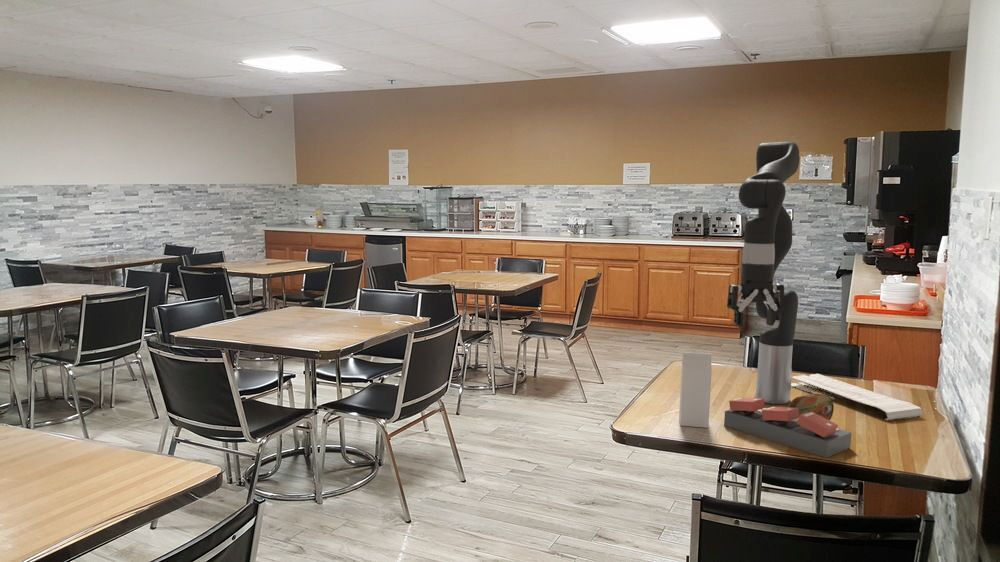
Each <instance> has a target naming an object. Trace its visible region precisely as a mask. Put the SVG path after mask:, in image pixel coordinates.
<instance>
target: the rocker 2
mask: <svg viewBox="0 0 1000 562" xmlns="http://www.w3.org/2000/svg"><path fill="white" fill-rule="evenodd" d="M766 408H767V409H763V410H762V417H763V420H777V421H791V420H794V419H797V418H799V410H798V408H791V407H789V406H788V407H787V406H786V407H785V406H771V407H766Z"/></svg>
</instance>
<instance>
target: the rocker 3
mask: <svg viewBox="0 0 1000 562" xmlns="http://www.w3.org/2000/svg"><path fill="white" fill-rule="evenodd" d="M797 424H799V425H801V426H803V427H804V428H806V429H808V430H810V431H812V432H814V433H816V434H818V435H820V436H822V437H827V436H830V435H832V434H835V432H836V429H837V428H838V425H839V424H838V423H836V422H833V421H832V420H831V419H830V420H828V419H826V418H824V417H822V416H820V415H818V414H815V413H813V412H811V411H810V412H807V413H804V414H801V415H800V416H799V420H798V423H797Z"/></svg>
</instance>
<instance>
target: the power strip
mask: <svg viewBox="0 0 1000 562" xmlns="http://www.w3.org/2000/svg"><path fill="white" fill-rule="evenodd" d="M767 408H768V407H765V408H763V409H767ZM763 409H760V410H756V411H740V410H730V409H727V410H724V421H723V426H725V427H728V428H730V429H733V430H735V431H736V430H737V431H739V432H743V433H746V434H750V435H752V436H756V437H759V438H762V439H765V440H768V441H771V442H775V443H778V444H781V445H784V446H787V447H790V448H794V449H797V450H799V451H803V452H807V453H808V454H809V453H810V454H812V455H816V456H818V455H819V457H821V456H822V457H821V458H825V459H827V458H830V456H831V457H833V456H835V454H836V455H838V454H840V453H842V452H841V451H843V452H845V451H847V450H846V449H848V448H850V449H851V441H852V432H851V431H849V430H848V431H847V430H844V429H840V428H838V427H837V429H836V432H835V434H832V435H830V436H827V437H822V436H820V435H818V434H816V433H814V432H812V431H810V430H808V429H806V428H804V427H803V426H801V425H799V424H797V423H798V420H799V418H797V419H794V420H791V421H777V420H763V417H762V410H763ZM844 450H845V451H844ZM848 450H849V449H848ZM839 452H840V453H839ZM837 453H838V454H837ZM832 455H833V456H832Z"/></svg>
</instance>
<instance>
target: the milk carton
mask: <svg viewBox="0 0 1000 562" xmlns="http://www.w3.org/2000/svg"><path fill="white" fill-rule="evenodd" d="M682 355H683V356H682V361H681V362H682V363H681V376H680V393H679V394H680V395H679V412H678V413H679V414H678V419H679V425H680V426H682V427H692V428H693V427H694V428H706V429H707V428H709V421H710V404H711V388H712V386H711V385H712V353H705V352H704V353H703V352H689V351H688V352H687V351H683V353H682Z"/></svg>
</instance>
